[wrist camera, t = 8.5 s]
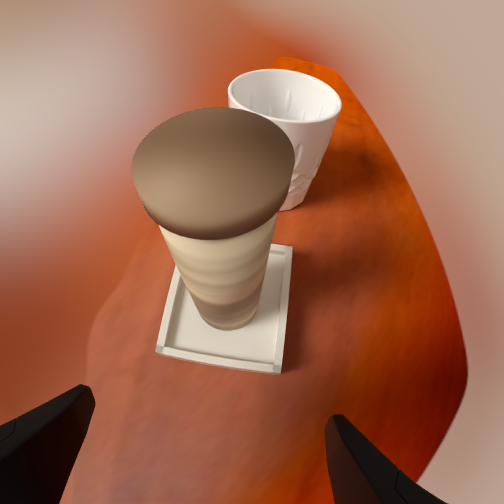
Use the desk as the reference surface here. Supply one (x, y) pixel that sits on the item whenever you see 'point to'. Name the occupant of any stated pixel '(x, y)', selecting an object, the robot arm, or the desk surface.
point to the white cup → (292, 117)
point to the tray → (236, 341)
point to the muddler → (217, 203)
